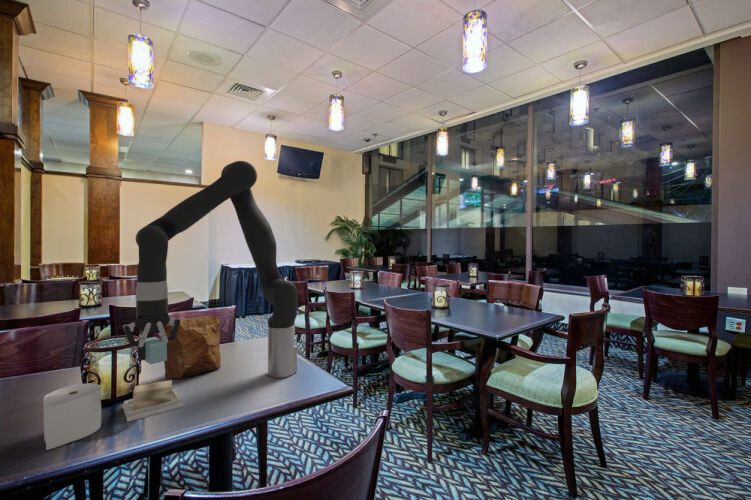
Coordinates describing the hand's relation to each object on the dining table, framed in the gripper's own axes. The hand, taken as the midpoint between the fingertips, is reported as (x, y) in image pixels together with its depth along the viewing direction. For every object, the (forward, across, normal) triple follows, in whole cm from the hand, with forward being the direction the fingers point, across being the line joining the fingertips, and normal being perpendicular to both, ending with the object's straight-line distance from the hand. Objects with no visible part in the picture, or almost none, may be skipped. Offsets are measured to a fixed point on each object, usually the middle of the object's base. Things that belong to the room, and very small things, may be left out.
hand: (152, 357), depth 98 cm
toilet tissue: (+15, -17, -2) cm, 23 cm away
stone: (+15, +15, +20) cm, 29 cm away
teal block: (0, 0, 0) cm, 0 cm away
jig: (+14, 0, 0) cm, 14 cm away
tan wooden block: (+13, 0, 0) cm, 13 cm away
